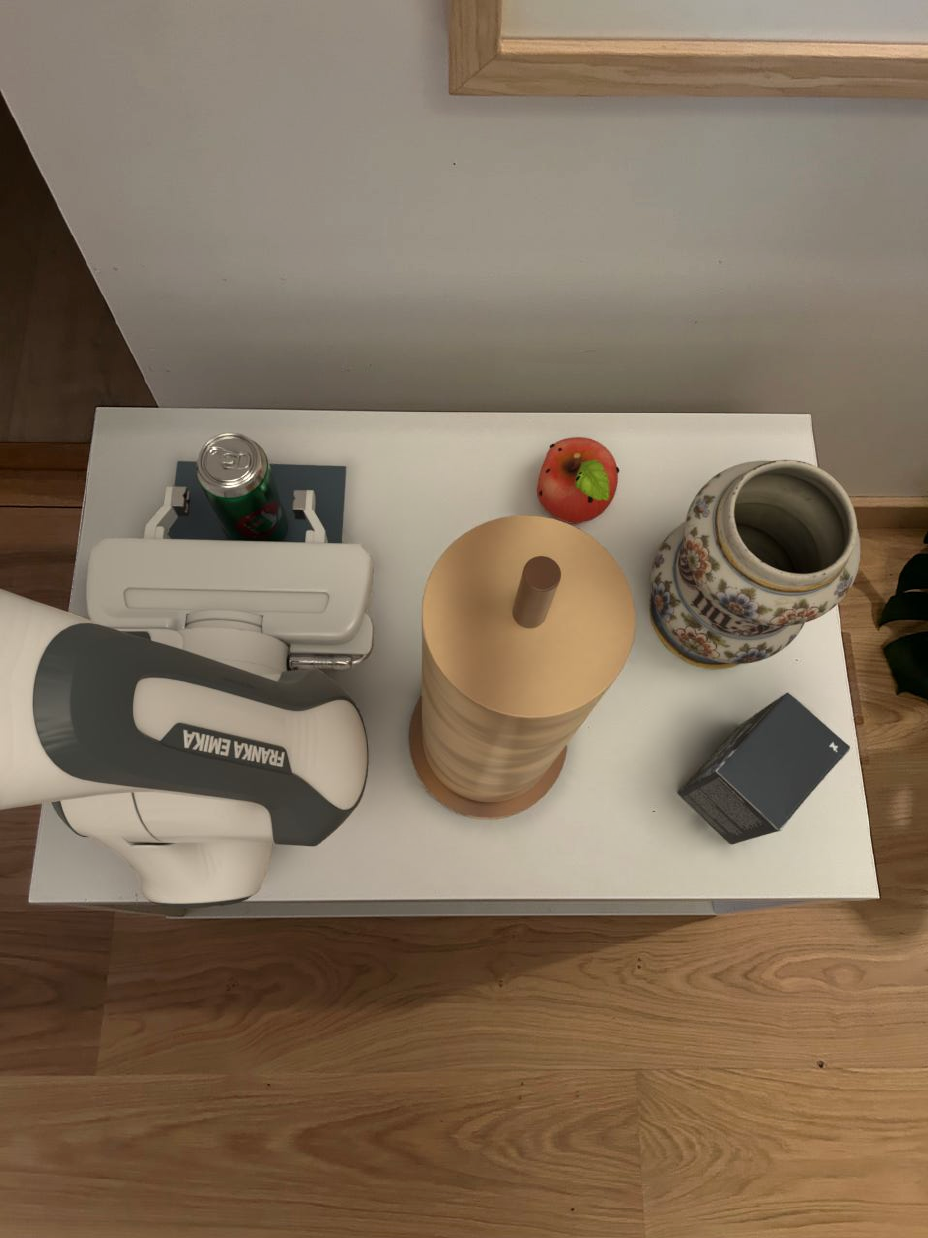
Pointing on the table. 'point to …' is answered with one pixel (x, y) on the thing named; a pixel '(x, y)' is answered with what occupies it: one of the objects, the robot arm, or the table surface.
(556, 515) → the apple
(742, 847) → the table surface
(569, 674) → the towel stand
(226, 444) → the soda can
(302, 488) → the mat
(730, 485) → the apothecary jar
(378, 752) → the table surface
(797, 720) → the box
